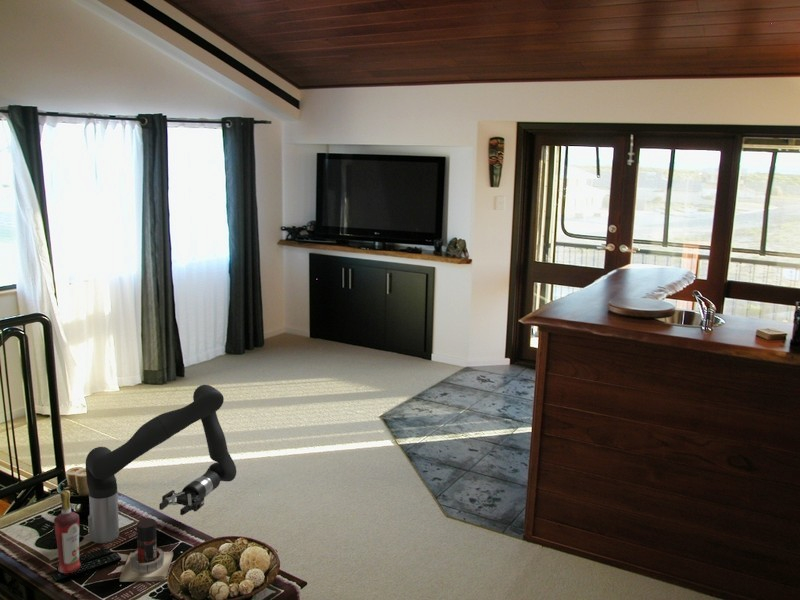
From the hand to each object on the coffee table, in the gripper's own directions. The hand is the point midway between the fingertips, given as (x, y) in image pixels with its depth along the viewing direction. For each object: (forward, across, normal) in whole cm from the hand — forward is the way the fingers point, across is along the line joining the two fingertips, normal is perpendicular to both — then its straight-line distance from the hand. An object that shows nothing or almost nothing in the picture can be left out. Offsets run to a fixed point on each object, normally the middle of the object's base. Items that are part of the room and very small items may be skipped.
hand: (170, 510), depth 241 cm
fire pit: (+13, 0, +15) cm, 20 cm away
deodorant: (+13, 0, +13) cm, 19 cm away
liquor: (+24, -22, +15) cm, 36 cm away
